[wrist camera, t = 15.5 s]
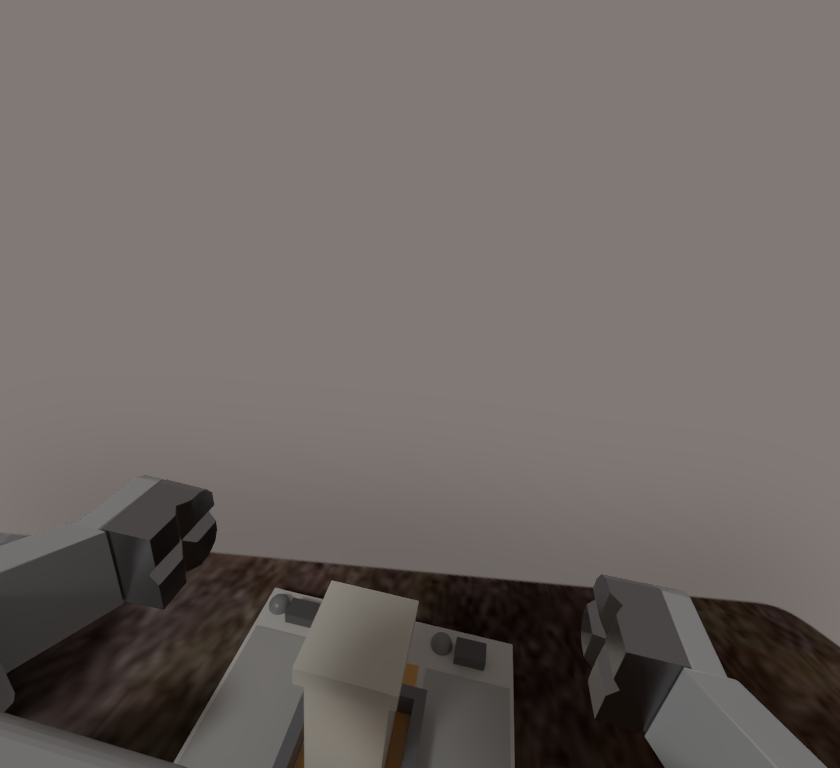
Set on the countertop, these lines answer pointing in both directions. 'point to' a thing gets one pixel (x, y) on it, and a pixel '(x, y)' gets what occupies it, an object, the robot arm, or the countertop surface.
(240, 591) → the countertop surface
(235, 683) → the board
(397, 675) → the plug
